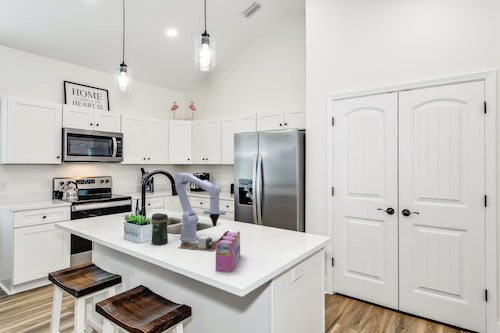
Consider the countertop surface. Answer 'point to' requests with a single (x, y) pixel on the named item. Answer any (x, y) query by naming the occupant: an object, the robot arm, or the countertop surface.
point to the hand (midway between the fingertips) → (214, 225)
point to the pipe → (193, 242)
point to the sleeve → (202, 242)
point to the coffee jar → (159, 228)
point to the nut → (208, 243)
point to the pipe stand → (195, 247)
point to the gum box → (227, 251)
